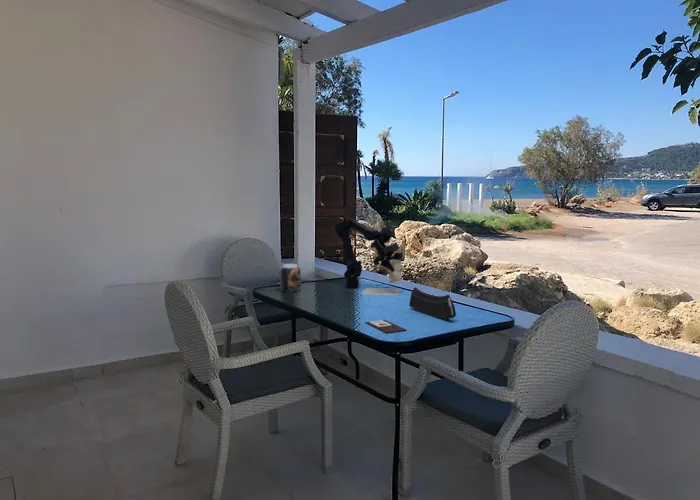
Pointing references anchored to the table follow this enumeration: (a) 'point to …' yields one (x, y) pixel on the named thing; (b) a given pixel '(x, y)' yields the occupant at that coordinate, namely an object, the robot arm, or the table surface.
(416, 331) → the table surface
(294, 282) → the jar
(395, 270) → the birch block
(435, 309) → the magazine
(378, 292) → the rubber mat
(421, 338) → the table surface
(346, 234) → the robot arm
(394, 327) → the chocolate bar
